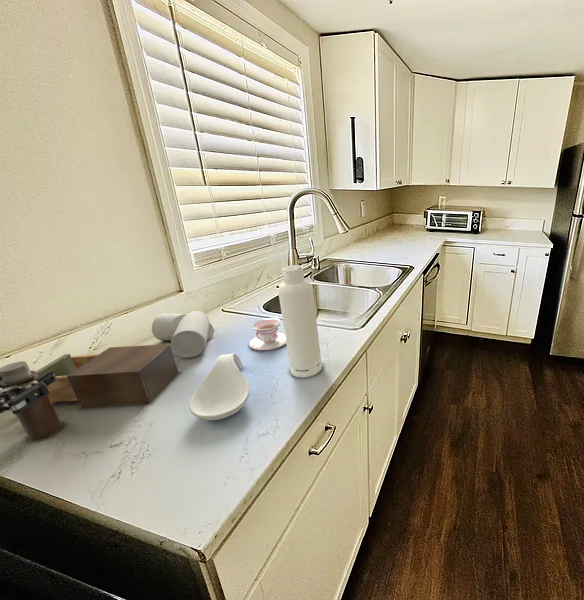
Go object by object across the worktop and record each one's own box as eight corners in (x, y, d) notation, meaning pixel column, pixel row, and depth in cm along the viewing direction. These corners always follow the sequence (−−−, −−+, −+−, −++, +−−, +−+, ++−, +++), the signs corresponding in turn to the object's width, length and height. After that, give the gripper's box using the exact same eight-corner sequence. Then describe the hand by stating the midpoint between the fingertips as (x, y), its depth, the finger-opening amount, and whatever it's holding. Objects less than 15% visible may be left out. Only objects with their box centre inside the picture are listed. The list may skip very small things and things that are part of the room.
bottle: (285, 369, 87) (268, 268, 77) (311, 357, 93) (299, 261, 82) (300, 381, 82) (284, 274, 72) (327, 368, 87) (316, 267, 77)
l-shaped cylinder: (235, 328, 108) (179, 326, 110) (224, 301, 102) (166, 300, 104) (203, 366, 94) (140, 363, 96) (189, 338, 88) (122, 336, 90)
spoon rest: (251, 420, 69) (244, 392, 66) (187, 435, 65) (178, 406, 62) (255, 364, 90) (251, 341, 87) (207, 373, 86) (201, 349, 83)
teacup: (266, 331, 109) (262, 314, 106) (297, 335, 106) (295, 318, 103) (240, 348, 98) (236, 330, 96) (274, 353, 95) (271, 334, 93)
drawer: (12, 408, 72) (-2, 382, 70) (57, 378, 83) (46, 355, 81) (97, 402, 74) (86, 376, 72) (131, 373, 85) (122, 350, 82)
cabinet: (81, 408, 73) (66, 376, 70) (120, 376, 85) (109, 347, 82) (149, 403, 75) (138, 371, 72) (178, 372, 86) (170, 343, 83)
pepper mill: (21, 440, 65) (-16, 374, 59) (43, 423, 69) (11, 360, 63) (47, 438, 65) (13, 372, 59) (68, 421, 69) (38, 358, 64)
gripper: (-32, 413, 49) (61, 357, 64) (-140, 421, 48) (-19, 362, 63) (-9, 451, 52) (76, 389, 67) (-111, 459, 50) (-1, 394, 65)
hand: (30, 376), depth 65 cm, fingers open, 8 cm apart
